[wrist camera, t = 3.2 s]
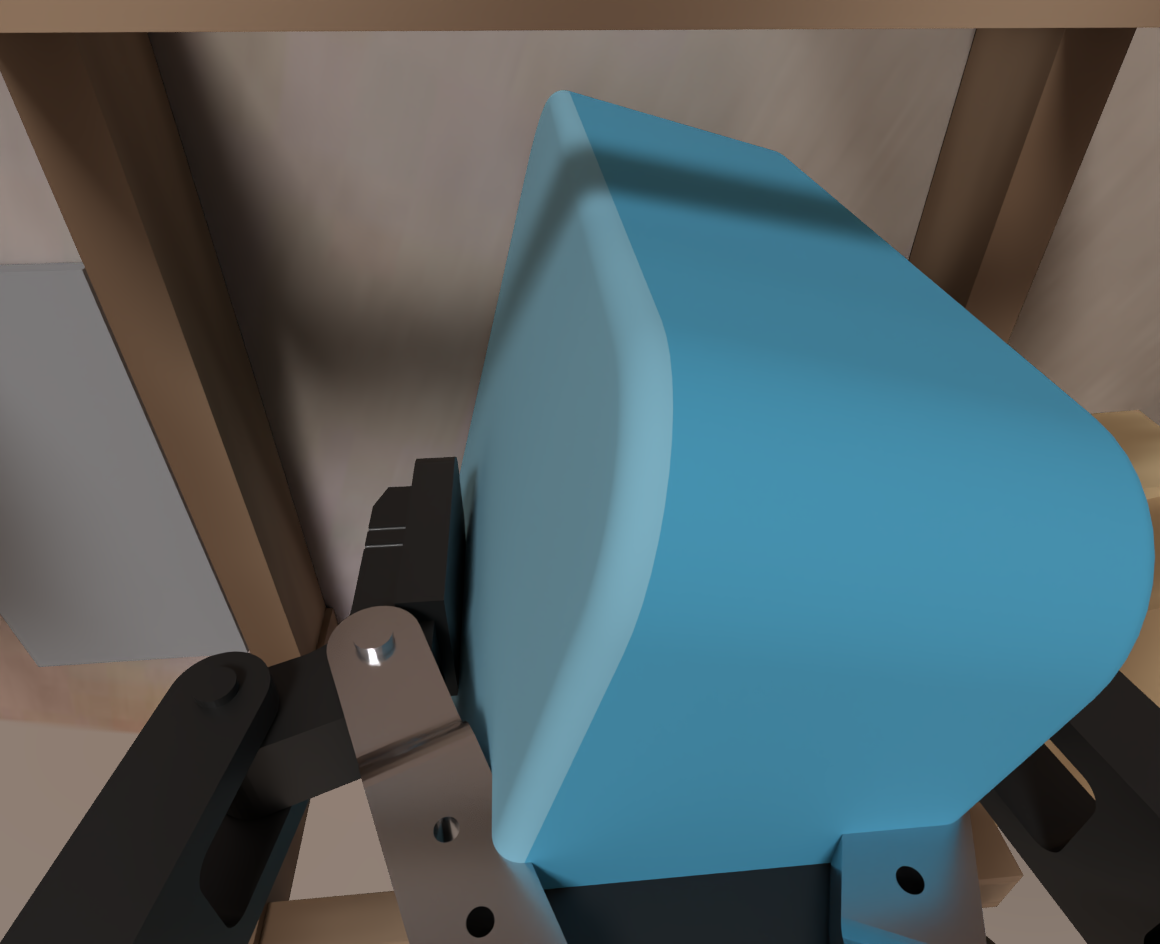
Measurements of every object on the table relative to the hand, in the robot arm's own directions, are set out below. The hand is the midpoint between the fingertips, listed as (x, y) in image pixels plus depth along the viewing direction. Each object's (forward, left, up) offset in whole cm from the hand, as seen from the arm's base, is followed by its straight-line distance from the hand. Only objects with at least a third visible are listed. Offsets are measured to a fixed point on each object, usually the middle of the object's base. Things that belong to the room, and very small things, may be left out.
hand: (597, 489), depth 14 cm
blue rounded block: (0, 0, -5) cm, 5 cm away
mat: (+13, +3, -5) cm, 14 cm away
